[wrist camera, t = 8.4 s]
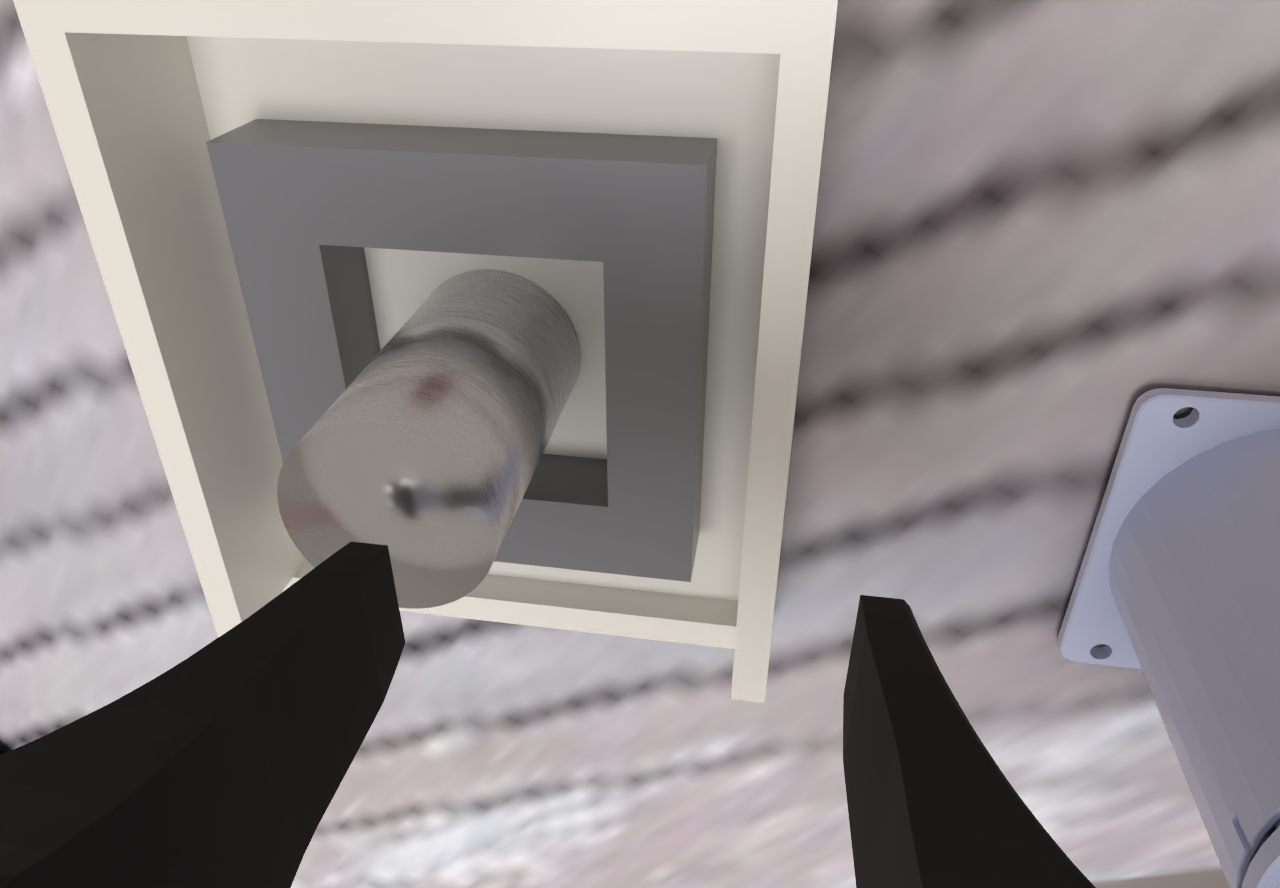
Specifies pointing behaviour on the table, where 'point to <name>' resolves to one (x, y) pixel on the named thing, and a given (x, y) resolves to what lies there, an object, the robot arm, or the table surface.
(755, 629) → the walled box
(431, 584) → the metal plug
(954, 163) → the table surface
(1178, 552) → the robot arm
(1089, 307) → the table surface
